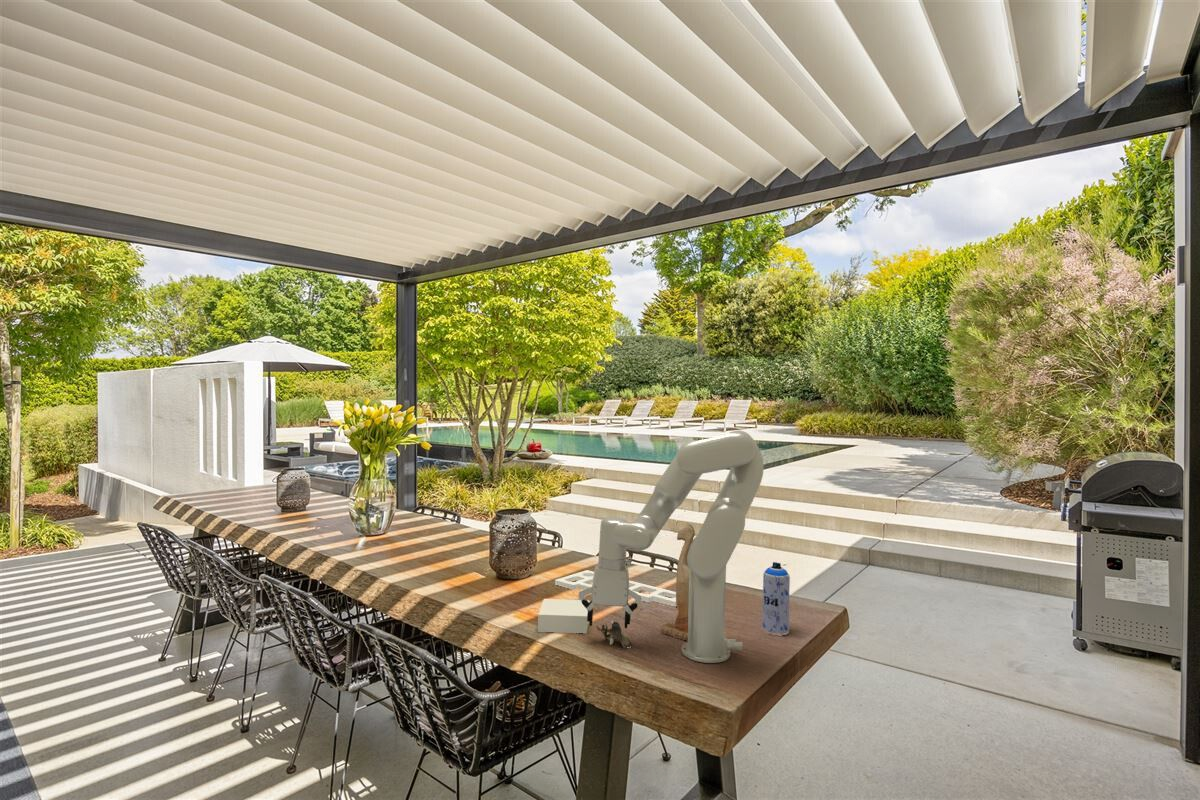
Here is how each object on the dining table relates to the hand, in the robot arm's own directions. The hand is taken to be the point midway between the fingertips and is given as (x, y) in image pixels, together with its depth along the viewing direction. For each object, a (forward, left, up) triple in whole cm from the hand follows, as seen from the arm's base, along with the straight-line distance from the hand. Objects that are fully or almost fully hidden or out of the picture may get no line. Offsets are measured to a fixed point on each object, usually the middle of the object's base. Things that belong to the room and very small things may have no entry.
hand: (608, 625), depth 165 cm
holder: (-4, -43, -6) cm, 44 cm away
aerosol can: (-49, -13, -5) cm, 51 cm away
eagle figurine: (-2, +1, -5) cm, 5 cm away
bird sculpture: (-23, -9, -5) cm, 25 cm away
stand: (+13, -13, -5) cm, 19 cm away
